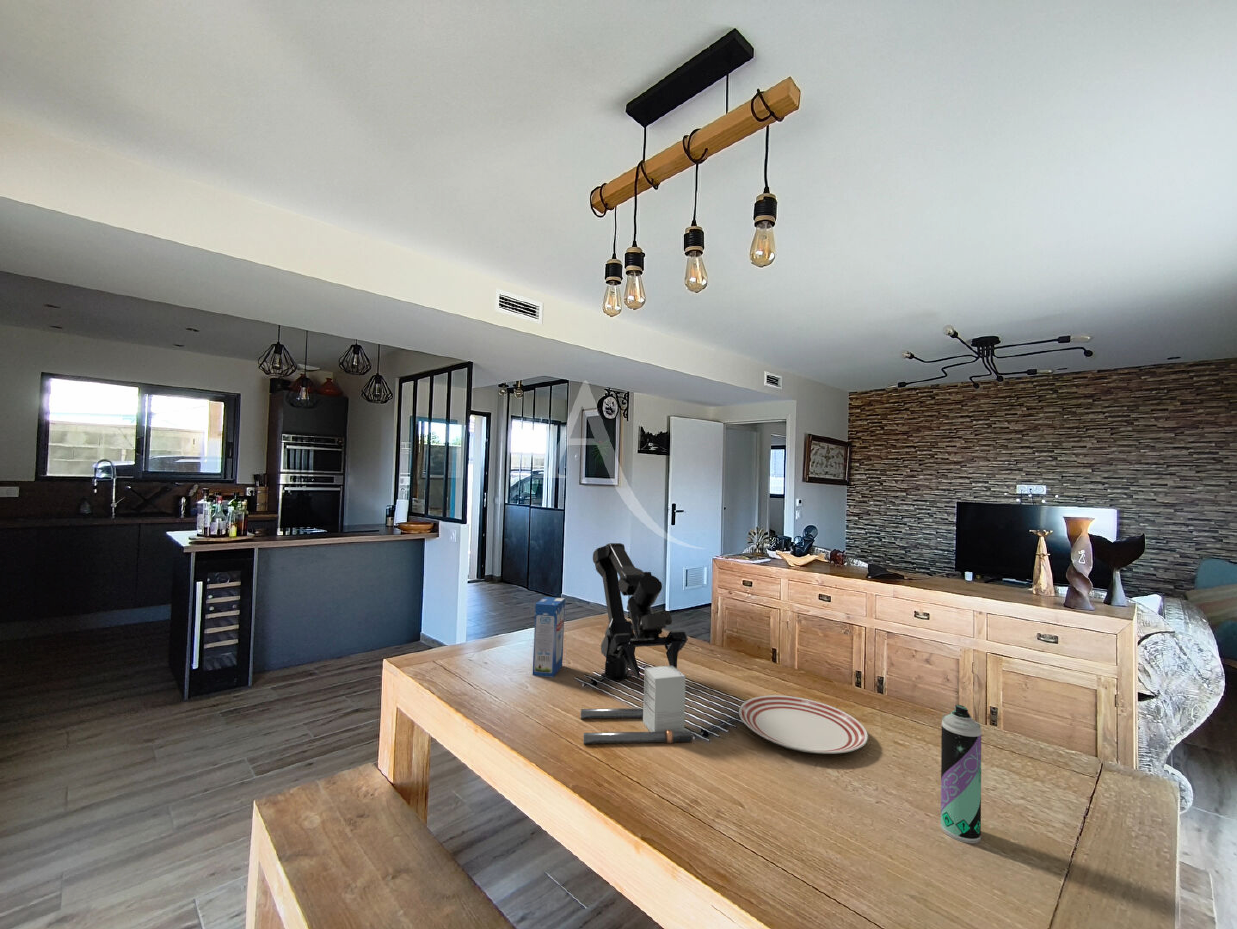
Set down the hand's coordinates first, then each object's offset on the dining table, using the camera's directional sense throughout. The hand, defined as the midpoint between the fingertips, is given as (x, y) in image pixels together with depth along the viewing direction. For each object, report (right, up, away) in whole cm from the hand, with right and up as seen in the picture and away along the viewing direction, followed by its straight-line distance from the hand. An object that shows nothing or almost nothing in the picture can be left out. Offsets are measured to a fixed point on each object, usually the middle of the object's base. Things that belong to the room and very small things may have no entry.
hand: (657, 676), depth 124 cm
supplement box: (+1, -10, -5) cm, 11 cm away
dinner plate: (+32, -12, -4) cm, 34 cm away
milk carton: (-30, -11, +30) cm, 44 cm away
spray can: (+46, -10, -38) cm, 61 cm away
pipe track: (-6, -10, -5) cm, 12 cm away
